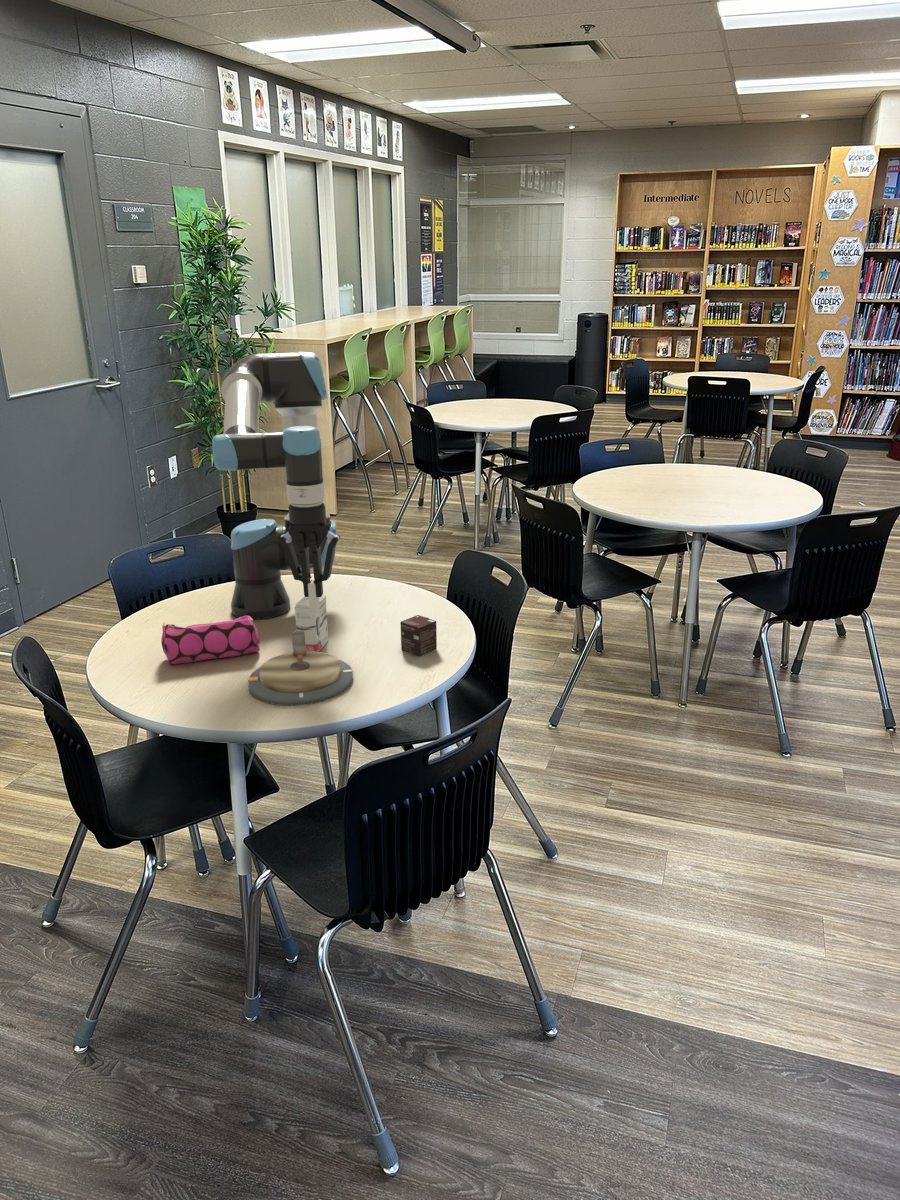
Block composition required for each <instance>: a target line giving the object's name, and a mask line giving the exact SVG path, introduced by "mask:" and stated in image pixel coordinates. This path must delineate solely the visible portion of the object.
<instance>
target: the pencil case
mask: <svg viewBox="0 0 900 1200" xmlns="http://www.w3.org/2000/svg"><path fill="white" fill-rule="evenodd" d="M161 626H162V627H161V629H162V633H161V638H160V639H161V640H160V641H161V642H160V643H161V647H162V651H163V653H164V654H165V657H166V659H167V662H168V663H169V664H170V665H179V664H184V663H194V662H200V661H205V660H214V659H222V658H224V659H225V658H233V657H240V656H243V655H244V656H245V655H248V654H254V653H258V652H259V651H260V650H261V649H260V646H259V645H260V644H259V643H260V637H259V632H258V629H257V627H256V622H255V620H254V619H252V618H251V617H250V616H247V615H245V616H243V617H236V618H235V619H232V620H226V621H219V622H211V623H198V624H193V625H187V626H185V625H184V626H183V625H175V624H173V623H171V624H169V623H168V624H166V622H163V623H162V625H161Z"/></svg>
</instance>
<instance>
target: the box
mask: <svg viewBox="0 0 900 1200" xmlns="http://www.w3.org/2000/svg"><path fill="white" fill-rule="evenodd" d="M399 625H400V647H401V648H400V650H401V652H404V653H407V654H409V655H412V656H415V657H418V658H421V657H424V656H425V655H428V654H430V653H432V652H435V651H436V650H437V645H438V644H437V620H434V619H431V618H429V617H427V616H423V615H420V614H417V615H414V616H412V617H409V618H407V619H404V620H401V621H400V624H399ZM434 650H435V651H434ZM423 655H424V656H423Z"/></svg>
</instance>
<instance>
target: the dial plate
mask: <svg viewBox="0 0 900 1200" xmlns="http://www.w3.org/2000/svg"><path fill="white" fill-rule="evenodd" d="M337 659H338V660H339V661H340V666H341V675H340V677H339V678H338V679H337V681H335V682H334V683H332V684H331V685H328V686H326V687H324V688H321V689H317V690H313V691H308V692H299V693H286V692H278V691H274V690H271V689H268V688H266V687H265V686H263V685H262V683H261V681H260V672H259V670H260V667H261V666H259V667H257V668H255V670H254V671H253V672H251V674H250V675H249V677H248V682H247V683H248V690H249V691H248V692H249V693H250V694H251V696H252V697H254V699H257V700H259V701H261V702H264V703H268V704H272V705H279V706H304V705H310V704H316V703H320V702H324V701H327V700H329V699H333V698H336V697H338V696H340V695H341V694H342V693H345V692H346V691H347V690H348V689H349V688H350V687H351V686H352V684H353V682H354V673H353V672H354V671H353V668H352V667H351V665H349V664H348V663H347V662H345V661H343V660H341V659H339V658H337Z"/></svg>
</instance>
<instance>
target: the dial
mask: <svg viewBox="0 0 900 1200" xmlns="http://www.w3.org/2000/svg"><path fill="white" fill-rule="evenodd" d="M291 641H292V643H291V644H292V652H288V653H287V652H286V653H283V654H279V655H277V656H276V655H275V656H274V657H271V658H270V659H268V660H266V661H265V662H263V663H262V664H261V665H260V666H259V667H260V670H259V672H260V681H261V683H262V685H263V686H265V687H266V688H268V689H271V690H274V691H278V692H286V693H299V692H308V691H313V690H317V689H321V688H324V687H326V686H328V685H331V684H332V683H334V682H335V681H337V679H338V678H339V677H340V675H341V666H340V661H339V660H340V659H339V658H338V657H336V656H335V655H333V654H330V653H326V652H322V651H319V652H316V651H306V644H305V632H304V631H296V630H294V631H292V632H291ZM338 659H339V660H338Z"/></svg>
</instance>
